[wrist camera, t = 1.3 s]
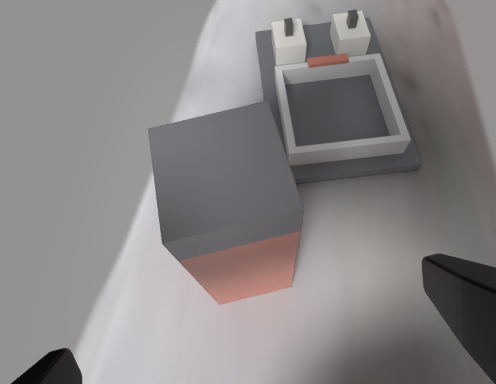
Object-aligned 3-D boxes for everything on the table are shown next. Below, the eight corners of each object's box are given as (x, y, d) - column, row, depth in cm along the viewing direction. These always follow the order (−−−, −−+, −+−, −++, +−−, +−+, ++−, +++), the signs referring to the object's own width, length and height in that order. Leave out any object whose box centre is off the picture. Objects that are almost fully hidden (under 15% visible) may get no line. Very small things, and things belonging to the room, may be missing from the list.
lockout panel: (417, 169, 25) (438, 140, 22) (276, 185, 25) (276, 158, 22) (366, 25, 32) (376, -14, 28) (255, 39, 32) (253, 2, 29)
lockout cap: (291, 286, 22) (304, 209, 11) (219, 304, 22) (162, 243, 11) (272, 219, 24) (267, 100, 13) (206, 236, 24) (147, 128, 13)
